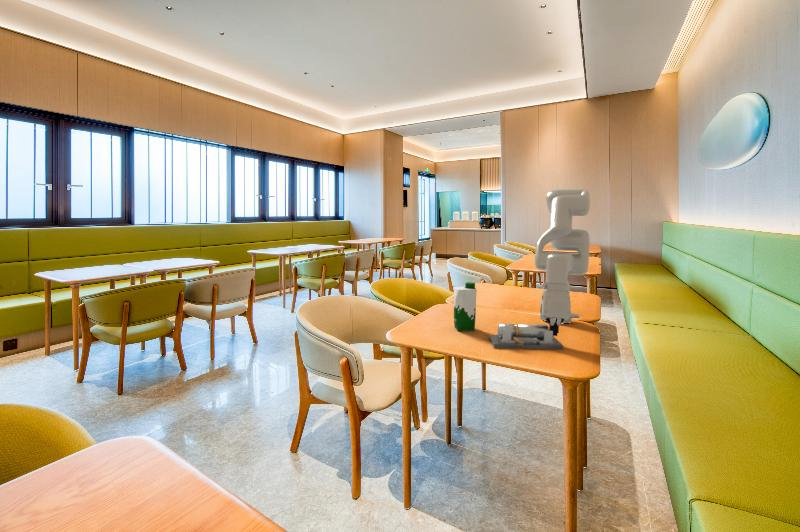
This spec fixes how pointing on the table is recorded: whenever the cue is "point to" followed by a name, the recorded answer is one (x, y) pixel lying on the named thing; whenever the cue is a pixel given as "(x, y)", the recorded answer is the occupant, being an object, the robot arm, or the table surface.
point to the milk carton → (465, 307)
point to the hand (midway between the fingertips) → (553, 334)
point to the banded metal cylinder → (523, 330)
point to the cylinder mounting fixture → (525, 341)
